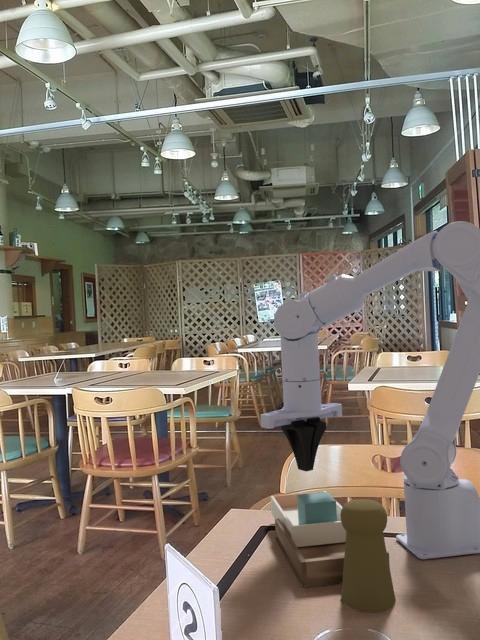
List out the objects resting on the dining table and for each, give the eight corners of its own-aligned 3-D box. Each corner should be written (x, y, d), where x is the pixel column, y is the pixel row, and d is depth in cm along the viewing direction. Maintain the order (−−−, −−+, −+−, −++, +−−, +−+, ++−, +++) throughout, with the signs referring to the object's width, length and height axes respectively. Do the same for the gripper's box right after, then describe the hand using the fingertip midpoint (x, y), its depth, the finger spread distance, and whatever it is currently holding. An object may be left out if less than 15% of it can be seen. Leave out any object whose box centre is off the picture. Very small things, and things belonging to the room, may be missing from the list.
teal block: (337, 533, 80) (336, 500, 80) (306, 536, 79) (304, 503, 79) (328, 522, 84) (326, 491, 84) (298, 525, 84) (297, 494, 84)
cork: (397, 613, 61) (391, 510, 62) (340, 610, 63) (334, 510, 63) (394, 587, 67) (388, 494, 67) (341, 585, 68) (336, 493, 69)
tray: (326, 508, 94) (325, 490, 94) (357, 540, 79) (356, 520, 79) (271, 513, 92) (270, 496, 92) (292, 547, 78) (291, 527, 78)
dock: (347, 531, 86) (346, 511, 86) (390, 577, 70) (388, 552, 70) (275, 539, 85) (274, 518, 85) (302, 587, 68) (301, 562, 69)
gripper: (319, 374, 94) (323, 457, 94) (247, 383, 86) (251, 473, 86) (350, 376, 88) (354, 464, 88) (275, 385, 80) (280, 482, 80)
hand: (305, 469), depth 87 cm, fingers closed
